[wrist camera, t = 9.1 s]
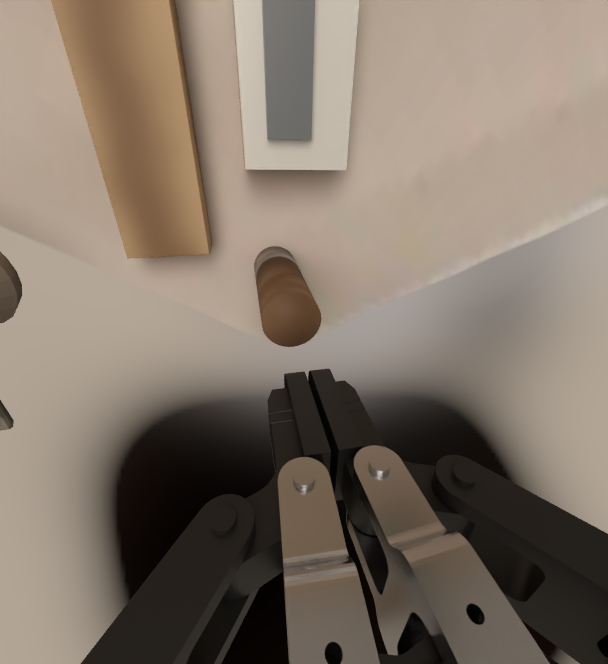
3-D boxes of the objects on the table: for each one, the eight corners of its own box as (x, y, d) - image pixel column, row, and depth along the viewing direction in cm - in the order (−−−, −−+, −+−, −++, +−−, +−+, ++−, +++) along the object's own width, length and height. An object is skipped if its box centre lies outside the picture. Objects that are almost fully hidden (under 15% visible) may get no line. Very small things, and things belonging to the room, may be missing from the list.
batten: (159, -104, 14) (145, -148, 12) (211, 244, 23) (209, 254, 20) (38, -118, 14) (1, -167, 11) (138, 247, 22) (127, 258, 20)
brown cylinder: (294, 245, 24) (321, 291, 16) (295, 284, 25) (320, 343, 18) (252, 247, 23) (259, 296, 16) (256, 287, 25) (263, 349, 17)
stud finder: (341, -18, 17) (367, -60, 14) (331, 167, 22) (349, 170, 18) (230, -31, 16) (228, -79, 13) (244, 166, 21) (245, 170, 17)
